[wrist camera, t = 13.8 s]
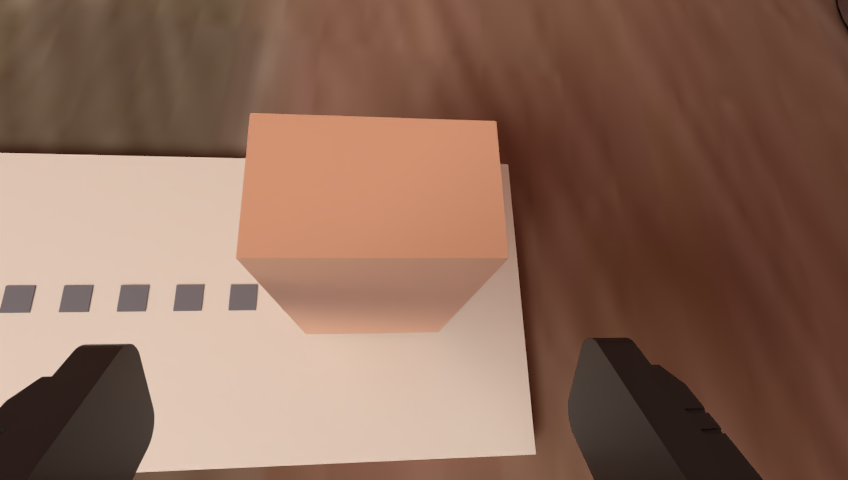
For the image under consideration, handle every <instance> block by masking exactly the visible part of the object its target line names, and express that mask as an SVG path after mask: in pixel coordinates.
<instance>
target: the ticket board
mask: <svg viewBox="0 0 848 480" xmlns="http://www.w3.org/2000/svg"><path fill="white" fill-rule="evenodd" d="M245 160H246V158H208V157H164V156H119V155H74V154H30V153H0V407H1V406H2V405H3V404H4V403H5V402H6V401H7V400H8V399H10V398H11V397H13V396H14V395H16V394H17V393H19V392H20V391H21V390H23V389H24V388H26V387H27V386H29V385H30V384H32V383H33V382H35V381H36V380H38V379H39V378H41V377H51V376H53V375H54V373H55V372H56V371H57V370H58V369H59V368H60V366H61V365H62V364H63V363H64V362H65V360H66V359H67V358H68V357H69V356H70V355H71V353H72V352H73V351H74V350H75V349H76V348H78V347H79V346H81V345H86V344H133V345H134V346H135V347H136V348H137V349H138V351H139V354H140V358H141V362H142V366H143V370H144V373H145V377H146V381H147V385H148V389H149V393H150V397H151V401H152V405H153V409H154V429H153V434H152V438H151V442H150V444H149V447H148V449H147V451H146V453H145V455H144V457H143V459H142V461H141V463H140V465H139V467H138V469H137V471H136V472H156V471H178V470H200V469H222V468H244V467H267V466H289V465H311V464H333V463H355V462H377V461H399V460H422V459H444V458H466V457H488V456H510V455H532V454H536V451H535V441H534V430H533V420H532V409H531V399H530V388H529V378H528V368H527V357H526V347H525V336H524V326H523V315H522V305H521V295H520V284H519V274H518V263H517V253H516V242H515V232H514V221H513V211H512V201H511V190H510V180H509V169H508V164H500V168H501V179H502V190H503V201H504V212H505V223H506V234H507V245H508V257H509V258H508V259H507V260H506V262H505V263H504V264H503V265H502V266H501V267H500V268H499V269H498V270H497V271H496V272H495V273H494V274H493V275H492V276H491V277H490V278H489V279H488V281H487V282H486V283H485V284H484V285H483V286H482V287H481V288H480V289H479V290H478V291H477V292H476V293H475V294H474V295H473V296H472V297H471V298H470V299H469V301H468V302H467V303H466V304H465V305H464V306H463V307H462V308H461V309H460V310H459V311H458V312H457V313H456V314H455V315H454V316H453V317H452V318H451V320H450V321H449V322H448V323H447V324H446V325H445V326H444V327H443V328H442V329H441V330H440V331H439V332H415V333H353V334H305V333H304V332H303V330H302V329H301V328H300V327H299V326H298V325H297V324H296V323H295V322H294V321H293V320H292V318H291V317H290V316H289V315H288V314H287V313H286V312H285V311H284V310H283V309H282V308H281V307H280V305H279V304H278V303H277V302H276V301H275V300H274V299H273V298H272V297H271V296H270V295H269V293H268V292H267V291H266V290H265V289H264V288H263V287H262V286H261V285H260V284H259V283H258V282H257V280H256V279H255V278H254V277H253V276H252V275H251V274H250V273H249V272H248V271H247V270H246V268H245V267H244V266H243V265H242V264H241V263H240V262H239V261H238V260H237V259H236V252H237V242H238V232H239V222H240V211H241V201H242V191H243V181H244V170H245Z"/></svg>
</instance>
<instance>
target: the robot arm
mask: <svg viewBox="0 0 848 480" xmlns="http://www.w3.org/2000/svg"><path fill="white" fill-rule="evenodd" d="M838 6H839V9H840V12H841V14H842V17H843V19H844V21H845V23H846V24H847V26H848V0H838ZM568 414H569V421H570V426H571V429H572V432H573V434H574V437H575V439H576V441H577V443H578V445H579V448H580V450H581V452H582V454H583V456H584V458H585V461H586V463H587V465H588V467H589V469H590V471H591V473H592V476H593V478H594V480H763V479H762V478H761V477H760V476H759V474H758V473H757V472H756V471H755V469H754V468H753V467H752V466H751V464H750V463H749V462H748V461H747V460H746V458H745V457H744V456H743V455H742V453H741V452H740V451H739V450H738V448H737V447H736V446H735V445H734V444H733V442H732V441H731V440H730V439H729V437H728V436H727V435H726V434H725V433H722V432H721V428H720V426H719V425H718V424H717V423H716V421H715V420H714V419H713V418H712V417H711V415H710V414H709V413H705V411H704V407H703V405H702V404H701V403H700V402H699V401H698V399H697V398H696V397H695V396H694V394H693V393H692V392H691V391H690V389H689V388H688V387H687V386H686V385H685V384H684V383H683V382H681V381H680V380H679V379H677V378H676V377H675V376H673V375H672V374H671V373H669V372H668V371H666V370H665V369H664V368H662V367H661V366H660V365H651V364H650V363H649V361H648V360H647V359H646V357H645V356H644V355H643V354H642V352H641V351H640V350H639V348H638V347H637V346H636V344H635V343H634V342H633V341H632V340H631V339H629V338H588V339H586V340H585V341H584V343H583V345H582V348H581V352H580V356H579V360H578V364H577V368H576V372H575V376H574V380H573V384H572V388H571V392H570V396H569V402H568ZM153 429H154V409H153V405H152V401H151V397H150V393H149V389H148V385H147V381H146V377H145V373H144V370H143V366H142V362H141V358H140V354H139V351H138V349H137V348H136V347H135V346H134V345H133V344H86V345H81V346H79V347H78V348H76V349H75V350H74V351H73V352H72V353H71V355H70V356H69V357H68V358H67V359H66V360H65V362H64V363H63V364H62V365H61V366H60V368H59V369H58V370H57V371H56V372H55V373H54V375H53V376H51V377H41V378H39V379H38V380H36V381H35V382H33V383H32V384H30V385H29V386H27V387H26V388H24V389H23V390H21V391H20V392H19V393H17V394H16V395H14V396H13V397H11V398H10V399H8V400H7V401H6V402H5V403H4V404H3V405H2V406H1V407H0V480H132V479H133V477H134V475H135V473H136V471H137V469H138V467H139V465H140V463H141V461H142V459H143V457H144V455H145V453H146V451H147V449H148V447H149V444H150V442H151V438H152V434H153Z"/></svg>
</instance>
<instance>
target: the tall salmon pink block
mask: <svg viewBox="0 0 848 480" xmlns="http://www.w3.org/2000/svg"><path fill="white" fill-rule="evenodd" d="M508 258H509V257H508V245H507V234H506V223H505V212H504V201H503V190H502V179H501V168H500V157H499V145H498V134H497V123H496V121H479V120H448V119H417V118H386V117H355V116H324V115H293V114H262V113H250V119H249V129H248V140H247V150H246V160H245V170H244V181H243V191H242V201H241V211H240V222H239V232H238V242H237V252H236V259H237V260H238V261H239V262H240V263H241V264H242V265H243V266H244V267H245V268H246V270H247V271H248V272H249V273H250V274H251V275H252V276H253V277H254V278H255V279H256V280H257V282H258V283H259V284H260V285H261V286H262V287H263V288H264V289H265V290H266V291H267V292H268V293H269V295H270V296H271V297H272V298H273V299H274V300H275V301H276V302H277V303H278V304H279V305H280V307H281V308H282V309H283V310H284V311H285V312H286V313H287V314H288V315H289V316H290V317H291V318H292V320H293V321H294V322H295V323H296V324H297V325H298V326H299V327H300V328H301V329H302V330H303V332H304V333H305V334H353V333H415V332H439V331H440V330H441V329H442V328H443V327H444V326H445V325H446V324H447V323H448V322H449V321H450V320H451V318H452V317H453V316H454V315H455V314H456V313H457V312H458V311H459V310H460V309H461V308H462V307H463V306H464V305H465V304H466V303H467V302H468V301H469V299H470V298H471V297H472V296H473V295H474V294H475V293H476V292H477V291H478V290H479V289H480V288H481V287H482V286H483V285H484V284H485V283H486V282H487V281H488V279H489V278H490V277H491V276H492V275H493V274H494V273H495V272H496V271H497V270H498V269H499V268H500V267H501V266H502V265H503V264H504V263H505V262H506V260H507V259H508Z"/></svg>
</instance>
